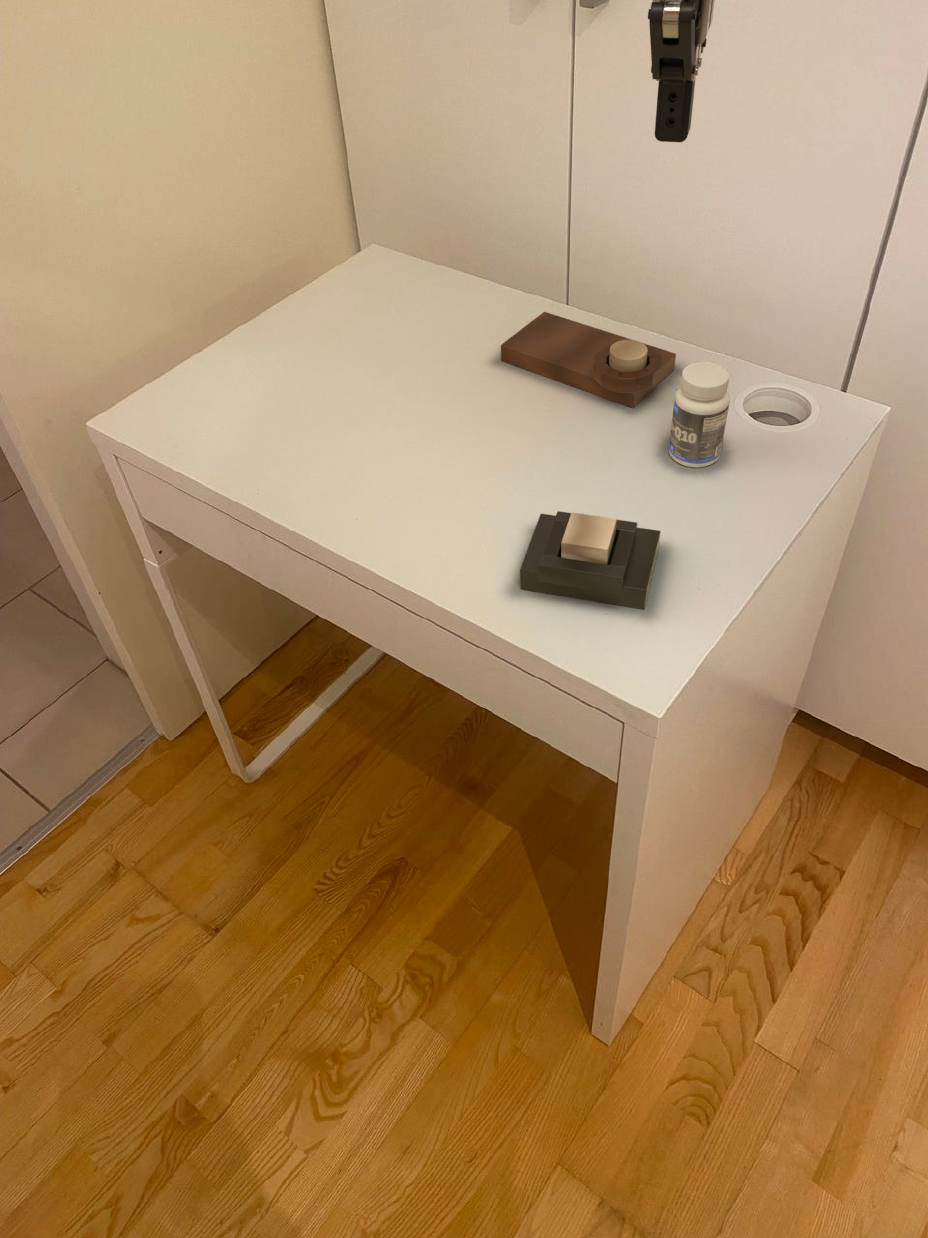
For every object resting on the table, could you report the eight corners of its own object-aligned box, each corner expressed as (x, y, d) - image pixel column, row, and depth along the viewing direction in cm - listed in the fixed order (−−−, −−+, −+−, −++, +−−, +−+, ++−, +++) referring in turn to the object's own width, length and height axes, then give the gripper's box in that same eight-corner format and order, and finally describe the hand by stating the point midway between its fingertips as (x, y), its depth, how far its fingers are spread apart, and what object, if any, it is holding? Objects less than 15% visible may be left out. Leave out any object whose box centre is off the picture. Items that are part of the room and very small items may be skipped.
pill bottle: (657, 448, 88) (666, 369, 82) (699, 431, 90) (710, 352, 84) (689, 475, 86) (700, 395, 79) (731, 457, 87) (745, 377, 81)
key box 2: (658, 550, 79) (662, 513, 76) (642, 618, 74) (646, 581, 71) (540, 532, 82) (540, 496, 79) (517, 597, 76) (516, 561, 74)
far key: (653, 360, 93) (654, 346, 92) (634, 377, 91) (635, 363, 90) (621, 349, 95) (622, 335, 94) (601, 366, 93) (602, 352, 92)
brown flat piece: (683, 372, 97) (687, 342, 94) (637, 417, 92) (639, 385, 89) (544, 327, 104) (544, 297, 102) (495, 365, 100) (493, 335, 97)
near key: (615, 535, 75) (616, 518, 74) (607, 566, 73) (608, 549, 72) (570, 528, 76) (571, 511, 75) (561, 558, 74) (561, 542, 73)
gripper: (761, -177, 47) (716, 181, 60) (781, -216, 56) (738, 104, 68) (611, -172, 49) (598, 174, 62) (652, -211, 57) (633, 100, 70)
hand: (672, 136), depth 65 cm, fingers closed
